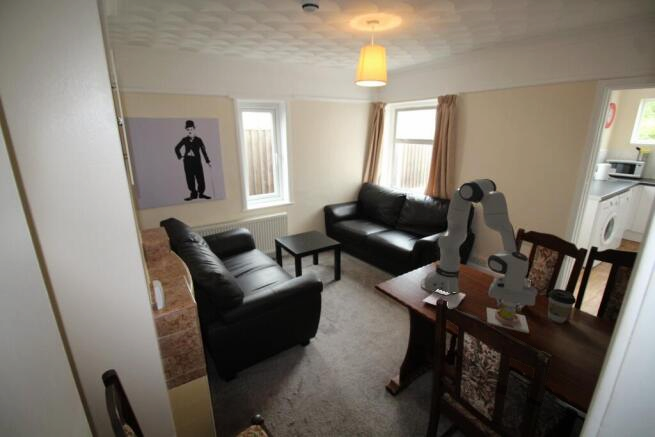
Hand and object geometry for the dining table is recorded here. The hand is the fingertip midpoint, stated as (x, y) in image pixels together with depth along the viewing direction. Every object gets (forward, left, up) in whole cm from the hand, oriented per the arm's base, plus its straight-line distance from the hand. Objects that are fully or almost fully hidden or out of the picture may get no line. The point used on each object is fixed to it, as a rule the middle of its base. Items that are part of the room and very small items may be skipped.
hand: (508, 307), depth 154 cm
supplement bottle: (0, 0, -7) cm, 7 cm away
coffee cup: (+24, +13, -8) cm, 28 cm away
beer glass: (+8, +21, -8) cm, 24 cm away
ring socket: (0, 0, -8) cm, 8 cm away
